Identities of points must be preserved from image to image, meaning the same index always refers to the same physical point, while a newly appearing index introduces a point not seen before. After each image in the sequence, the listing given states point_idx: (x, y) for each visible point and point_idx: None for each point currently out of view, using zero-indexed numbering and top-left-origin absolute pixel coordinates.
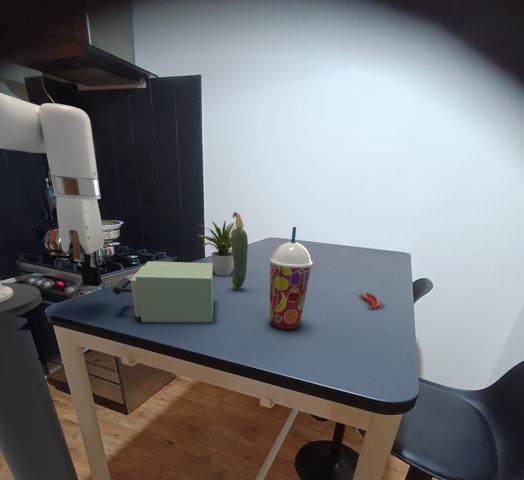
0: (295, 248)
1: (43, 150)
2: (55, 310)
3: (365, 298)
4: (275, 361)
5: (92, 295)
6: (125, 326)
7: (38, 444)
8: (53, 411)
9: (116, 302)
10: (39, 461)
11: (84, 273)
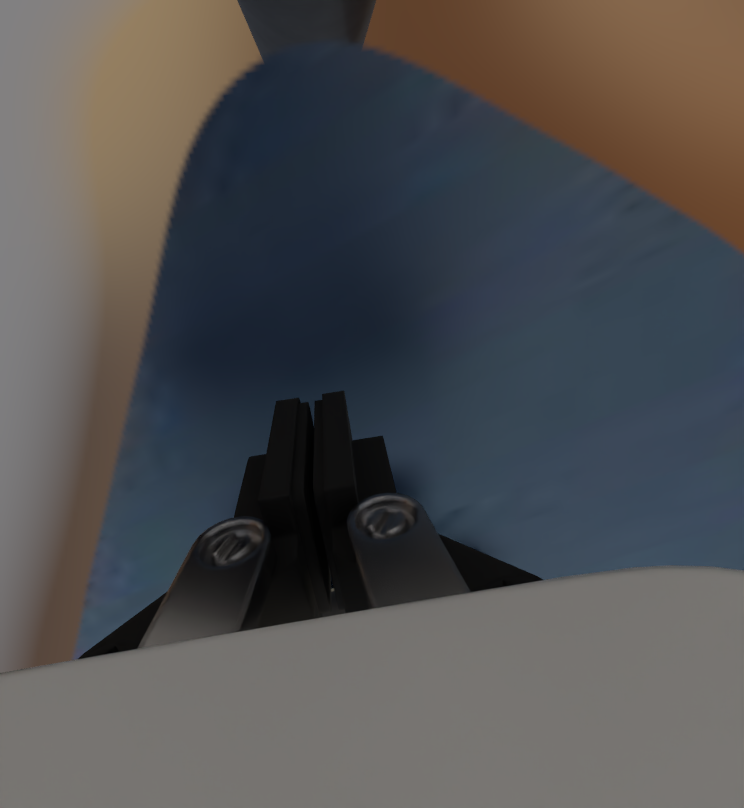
0: None
1: None
2: (261, 90)
3: None
4: None
5: (590, 203)
6: (154, 574)
7: (253, 17)
8: (327, 21)
9: (462, 410)
10: (251, 26)
11: (237, 507)
